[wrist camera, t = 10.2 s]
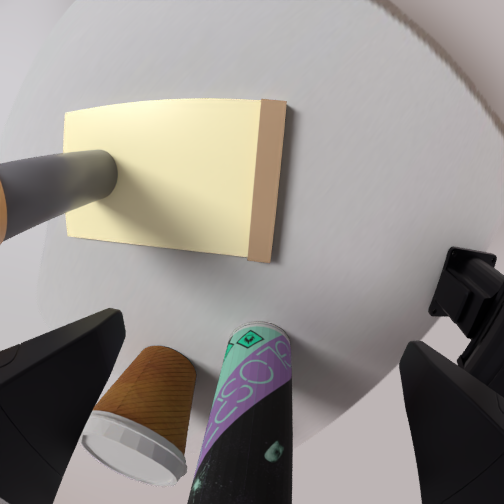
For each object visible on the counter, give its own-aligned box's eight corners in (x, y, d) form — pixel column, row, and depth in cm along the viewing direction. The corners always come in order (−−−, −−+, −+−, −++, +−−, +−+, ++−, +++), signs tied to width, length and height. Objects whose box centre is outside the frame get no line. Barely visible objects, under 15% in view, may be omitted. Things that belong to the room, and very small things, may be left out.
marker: (112, 140, 18) (-52, 162, 5) (124, 192, 19) (-31, 263, 6) (74, 158, 19) (-72, 194, 6) (85, 205, 20) (-53, 274, 7)
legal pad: (286, 104, 17) (286, 101, 16) (270, 257, 21) (270, 262, 20) (68, 113, 18) (60, 112, 17) (70, 234, 22) (63, 238, 21)
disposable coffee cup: (175, 319, 24) (117, 427, 12) (229, 388, 26) (208, 491, 15) (109, 344, 26) (53, 425, 15) (162, 402, 29) (129, 484, 17)
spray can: (290, 320, 23) (289, 586, 4) (290, 367, 24) (285, 583, 6) (225, 321, 23) (153, 567, 5) (232, 367, 25) (187, 573, 6)
